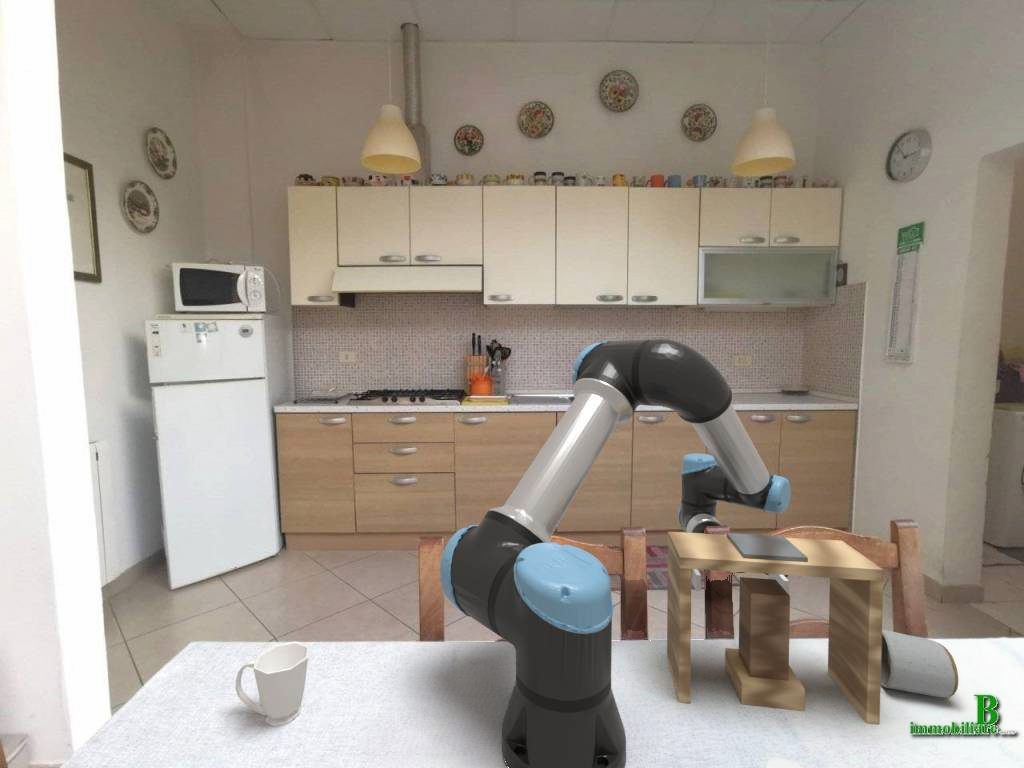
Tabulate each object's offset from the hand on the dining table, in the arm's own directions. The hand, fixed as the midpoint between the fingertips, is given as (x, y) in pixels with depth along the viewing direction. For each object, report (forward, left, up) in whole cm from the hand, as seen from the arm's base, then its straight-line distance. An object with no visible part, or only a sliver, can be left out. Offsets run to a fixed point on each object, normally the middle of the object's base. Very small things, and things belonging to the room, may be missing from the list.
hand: (741, 586), depth 76 cm
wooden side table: (0, -10, -10) cm, 14 cm away
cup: (-67, -26, -11) cm, 73 cm away
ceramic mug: (+21, -5, -11) cm, 24 cm away
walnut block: (0, -10, -7) cm, 12 cm away
